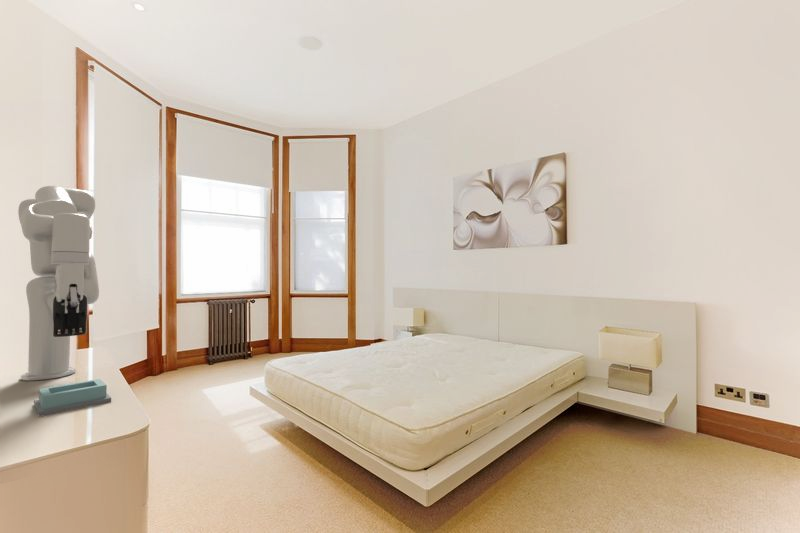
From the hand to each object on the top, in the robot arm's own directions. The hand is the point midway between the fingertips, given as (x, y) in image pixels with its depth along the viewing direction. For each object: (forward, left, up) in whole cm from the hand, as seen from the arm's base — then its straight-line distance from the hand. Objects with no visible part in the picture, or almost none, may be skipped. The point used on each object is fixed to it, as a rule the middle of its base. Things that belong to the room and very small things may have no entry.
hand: (69, 327), depth 97 cm
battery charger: (0, 0, -2) cm, 3 cm away
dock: (+9, 0, -18) cm, 20 cm away
